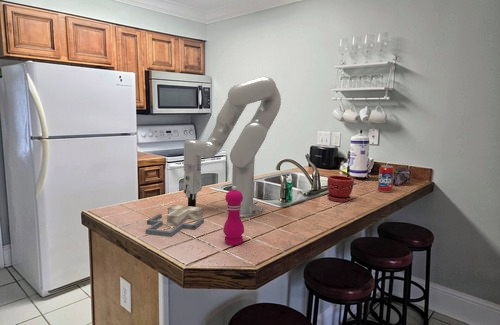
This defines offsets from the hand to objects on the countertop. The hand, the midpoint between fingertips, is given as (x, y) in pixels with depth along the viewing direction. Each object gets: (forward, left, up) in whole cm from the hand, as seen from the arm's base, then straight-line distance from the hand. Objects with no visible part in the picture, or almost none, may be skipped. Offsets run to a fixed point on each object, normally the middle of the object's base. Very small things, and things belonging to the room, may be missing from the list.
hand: (191, 207), depth 148 cm
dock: (-1, +21, -2) cm, 21 cm away
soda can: (-91, -70, -2) cm, 115 cm away
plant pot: (-65, -42, -2) cm, 77 cm away
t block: (-1, +12, -2) cm, 13 cm away
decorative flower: (-102, -94, -2) cm, 138 cm away
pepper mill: (-29, +28, -2) cm, 40 cm away
